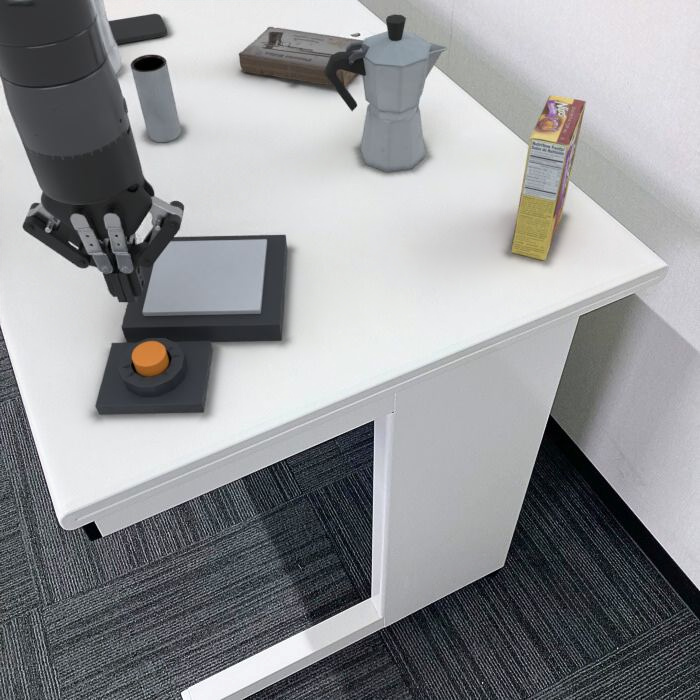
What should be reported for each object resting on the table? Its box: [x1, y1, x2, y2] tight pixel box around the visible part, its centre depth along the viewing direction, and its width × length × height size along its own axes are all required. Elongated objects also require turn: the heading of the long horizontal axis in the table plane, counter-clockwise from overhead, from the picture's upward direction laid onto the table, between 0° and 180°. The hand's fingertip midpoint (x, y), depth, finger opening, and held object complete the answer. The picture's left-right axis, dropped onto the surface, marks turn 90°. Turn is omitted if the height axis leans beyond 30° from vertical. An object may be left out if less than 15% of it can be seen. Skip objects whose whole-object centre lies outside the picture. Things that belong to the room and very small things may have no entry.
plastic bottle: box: [93, 0, 123, 75], centre depth 106 cm, size 6×7×20 cm
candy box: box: [511, 94, 587, 261], centre depth 81 cm, size 9×4×15 cm, turn 157°
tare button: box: [132, 341, 169, 377], centre depth 70 cm, size 3×3×2 cm
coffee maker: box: [324, 13, 448, 173], centre depth 91 cm, size 15×9×18 cm, turn 100°
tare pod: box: [95, 338, 214, 415], centre depth 72 cm, size 10×8×3 cm
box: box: [238, 26, 364, 88], centre depth 112 cm, size 11×17×3 cm, turn 67°
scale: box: [121, 234, 288, 343], centre depth 80 cm, size 16×14×3 cm
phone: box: [108, 13, 168, 45], centre depth 121 cm, size 7×1×15 cm
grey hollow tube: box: [130, 54, 182, 143], centre depth 98 cm, size 4×4×10 cm
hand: (130, 295), depth 65 cm, fingers closed
